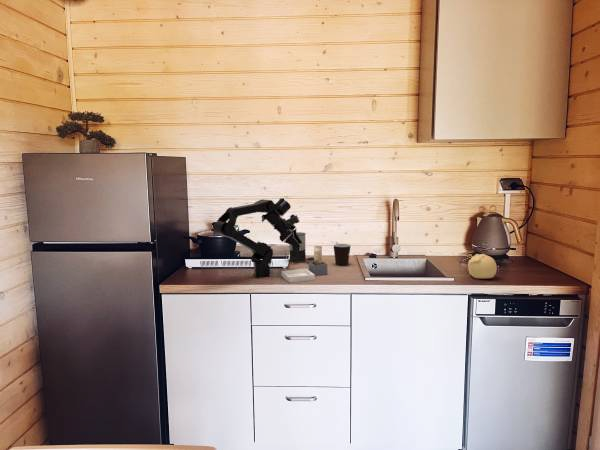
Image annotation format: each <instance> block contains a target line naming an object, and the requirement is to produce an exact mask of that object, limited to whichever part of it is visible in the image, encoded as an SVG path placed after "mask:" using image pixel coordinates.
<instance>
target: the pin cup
mask: <svg viewBox="0 0 600 450" xmlns="http://www.w3.org/2000/svg"><path fill="white" fill-rule="evenodd" d="M308 270H309V271H310V272H312V273H313V274H314V275H315V277H317V276H325V275H326V276H327V275H328V264H327V263H326V262H324V261H323V260H322V264H318V265H314V261H309V262H308Z"/></svg>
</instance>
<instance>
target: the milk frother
mask: <svg viewBox="0 0 600 450" xmlns="http://www.w3.org/2000/svg"><path fill="white" fill-rule="evenodd" d="M296 233H297V235H298V236H299V238H300V239H301V241H302V244H300V243H299V245H300V247H299V248H298V247H295V246H293V245H290V244H288V245H289V246H288V247H289V248H288V249H290V252H289V255H290V261H289V262H291V263H304V262H306V261H309V262H314V256H311V257H306V256H307V255H306V232H303V231H301V232H298V231H296Z"/></svg>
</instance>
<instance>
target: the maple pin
mask: <svg viewBox="0 0 600 450" xmlns="http://www.w3.org/2000/svg"><path fill="white" fill-rule="evenodd" d="M322 248H323V247H322V245H314V246H313V257H314V261H313V262H314V265H318V264H322V261H323V257H322V256H323V249H322Z"/></svg>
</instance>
